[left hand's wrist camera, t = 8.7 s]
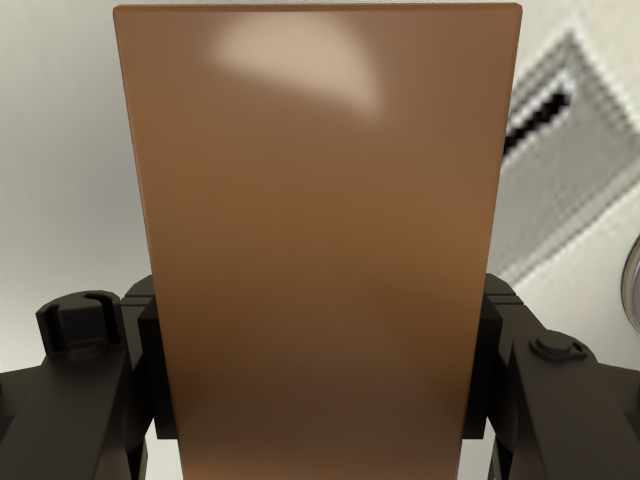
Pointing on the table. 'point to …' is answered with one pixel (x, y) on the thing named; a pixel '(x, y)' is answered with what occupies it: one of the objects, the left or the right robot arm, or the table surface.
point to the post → (318, 225)
